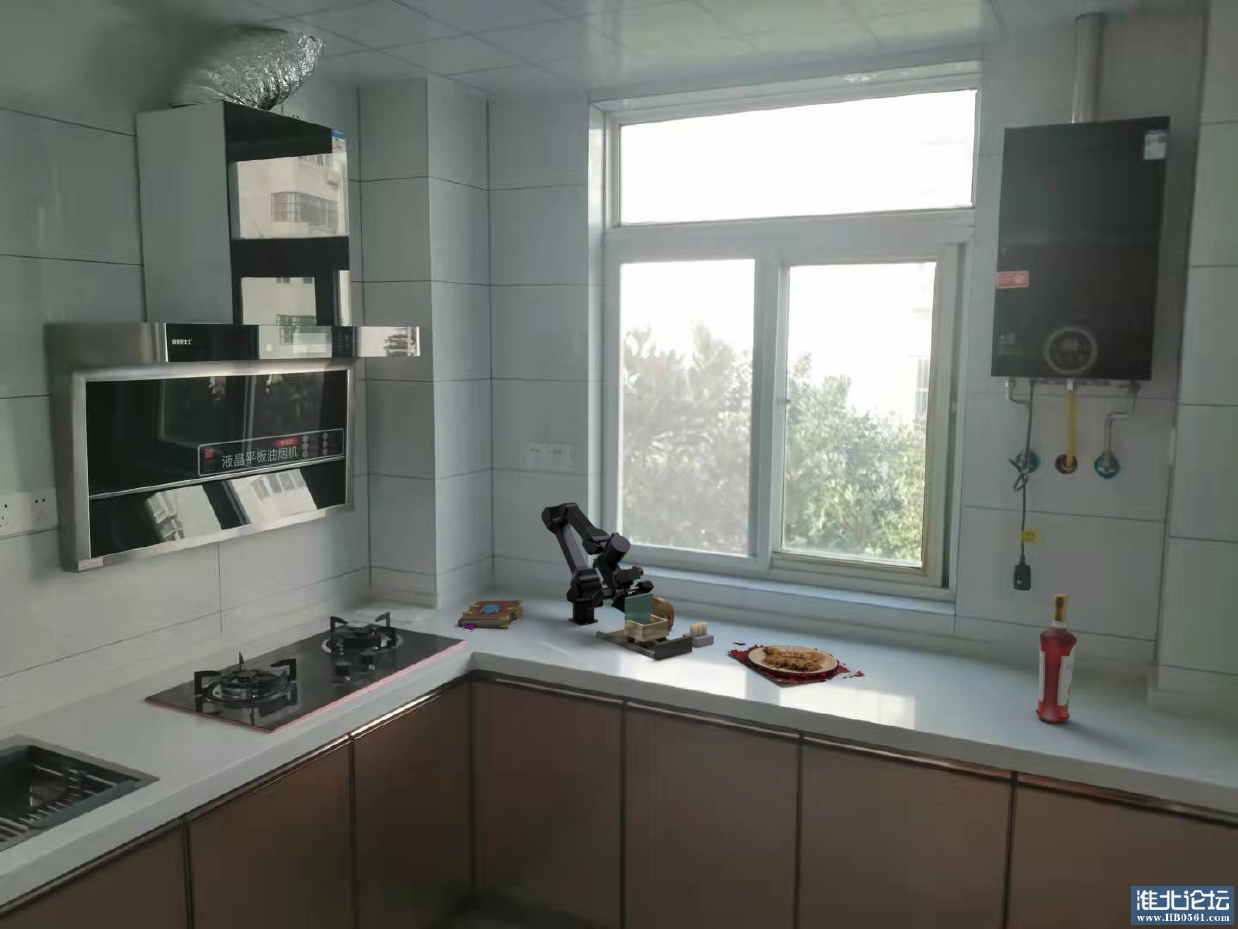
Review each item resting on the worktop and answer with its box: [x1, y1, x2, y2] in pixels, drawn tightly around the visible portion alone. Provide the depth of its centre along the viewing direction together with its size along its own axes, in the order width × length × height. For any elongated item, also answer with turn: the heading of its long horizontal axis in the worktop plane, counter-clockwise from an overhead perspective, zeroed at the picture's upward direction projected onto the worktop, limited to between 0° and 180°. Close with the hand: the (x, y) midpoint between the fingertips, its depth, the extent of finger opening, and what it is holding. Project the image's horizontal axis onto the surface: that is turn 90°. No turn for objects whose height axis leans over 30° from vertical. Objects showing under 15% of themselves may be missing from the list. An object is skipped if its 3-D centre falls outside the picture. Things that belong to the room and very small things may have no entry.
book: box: [457, 599, 524, 633], centre depth 279 cm, size 16×25×5 cm, turn 173°
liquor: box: [1035, 593, 1078, 724], centre depth 208 cm, size 7×7×28 cm
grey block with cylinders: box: [682, 621, 715, 648], centre depth 258 cm, size 6×6×6 cm
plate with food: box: [727, 642, 865, 685], centre depth 243 cm, size 25×26×4 cm
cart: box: [623, 592, 670, 649], centre depth 254 cm, size 8×9×13 cm
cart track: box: [595, 628, 693, 661], centre depth 256 cm, size 26×12×5 cm, turn 40°
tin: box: [652, 595, 675, 630], centre depth 275 cm, size 15×3×8 cm, turn 25°
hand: (636, 619), depth 258 cm, fingers closed, pressing on cart
